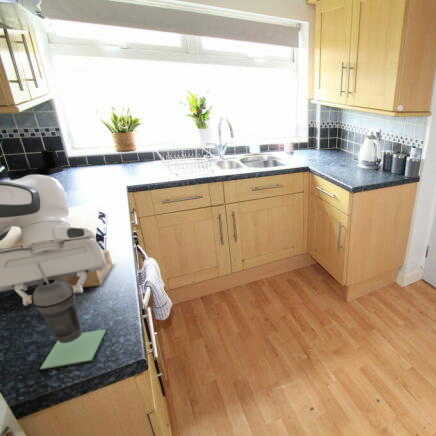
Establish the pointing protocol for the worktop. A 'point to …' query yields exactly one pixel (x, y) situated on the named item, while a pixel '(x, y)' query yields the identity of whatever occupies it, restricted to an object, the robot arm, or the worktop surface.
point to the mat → (74, 350)
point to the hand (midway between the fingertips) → (54, 298)
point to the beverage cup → (58, 308)
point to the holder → (93, 274)
